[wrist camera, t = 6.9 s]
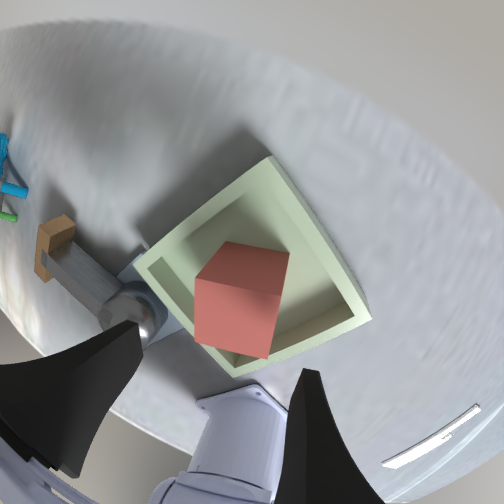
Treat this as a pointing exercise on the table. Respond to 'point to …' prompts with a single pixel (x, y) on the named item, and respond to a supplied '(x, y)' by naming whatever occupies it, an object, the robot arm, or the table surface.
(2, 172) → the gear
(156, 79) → the table surface
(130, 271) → the crank base
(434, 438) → the butcher knife
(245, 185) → the tray
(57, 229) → the crank
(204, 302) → the block
